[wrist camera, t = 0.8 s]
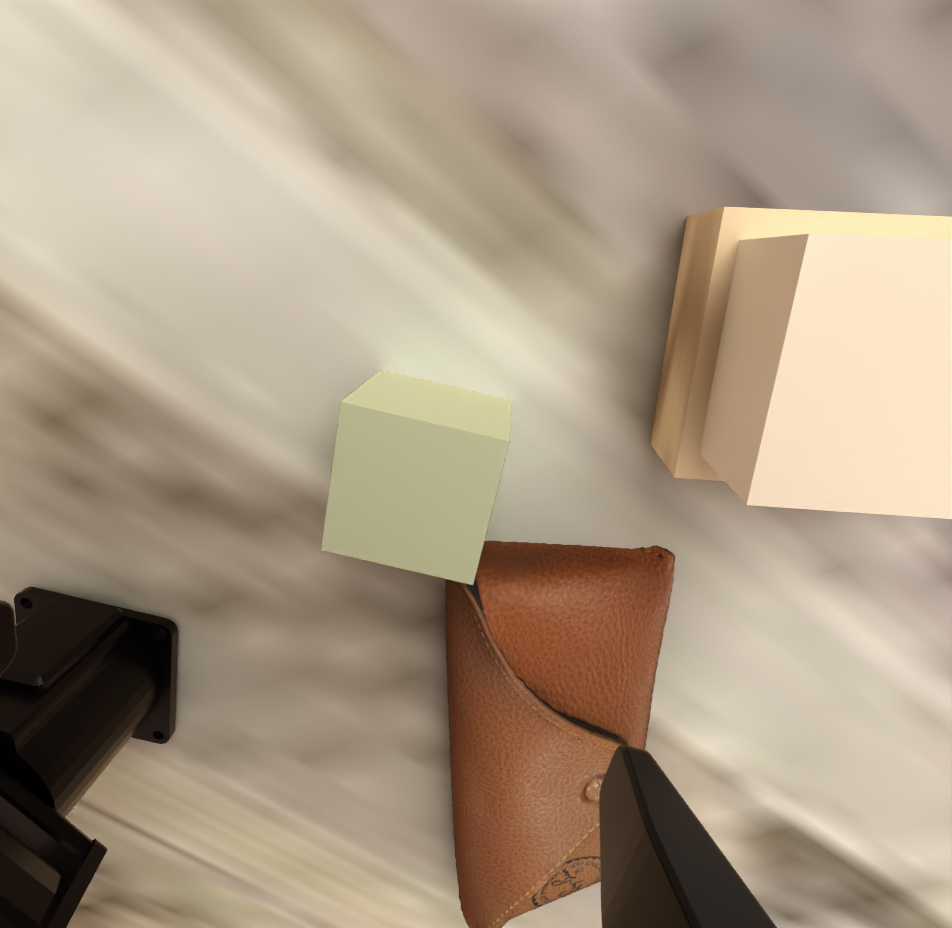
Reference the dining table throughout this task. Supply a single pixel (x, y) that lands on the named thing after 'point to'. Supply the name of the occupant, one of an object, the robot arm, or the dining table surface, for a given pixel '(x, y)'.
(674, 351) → the tower base
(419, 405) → the sage cube
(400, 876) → the dining table surface
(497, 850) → the sunglasses case
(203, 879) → the dining table surface
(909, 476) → the tower mid
